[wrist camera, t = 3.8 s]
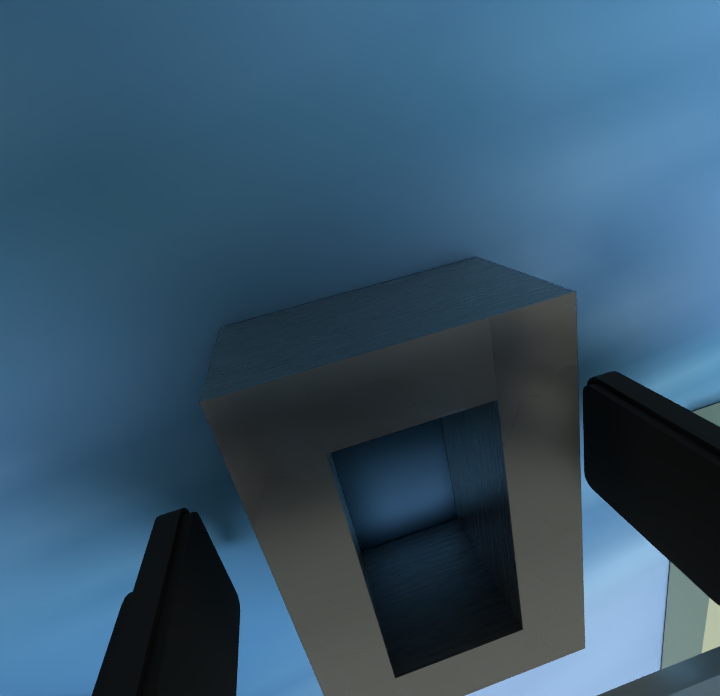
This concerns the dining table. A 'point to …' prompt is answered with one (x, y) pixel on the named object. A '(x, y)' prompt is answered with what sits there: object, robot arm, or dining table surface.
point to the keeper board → (690, 604)
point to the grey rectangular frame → (466, 463)
